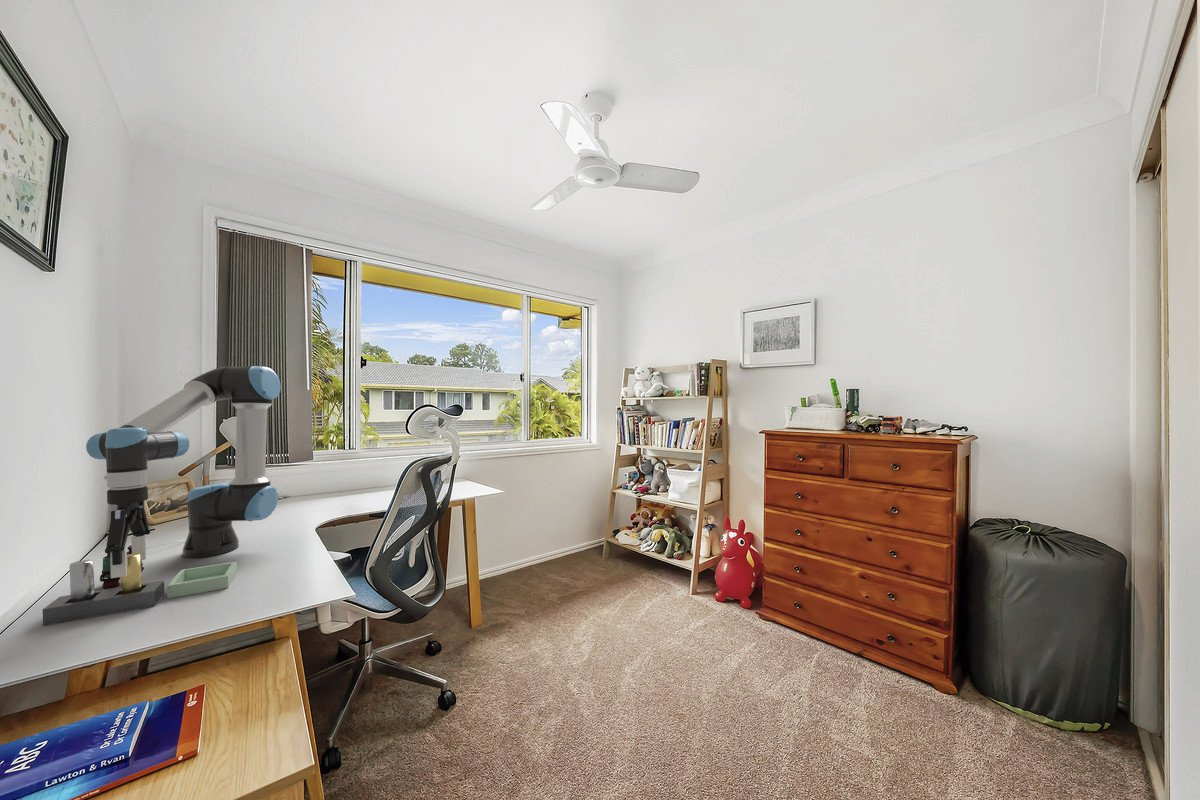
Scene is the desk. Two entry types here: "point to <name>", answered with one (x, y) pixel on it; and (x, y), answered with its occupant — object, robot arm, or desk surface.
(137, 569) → the brass pin
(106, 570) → the binoculars
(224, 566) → the tray
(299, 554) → the desk surface
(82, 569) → the pin
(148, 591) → the bar
